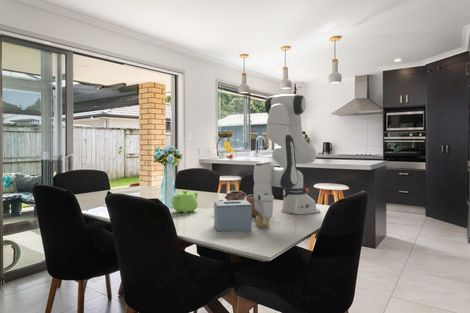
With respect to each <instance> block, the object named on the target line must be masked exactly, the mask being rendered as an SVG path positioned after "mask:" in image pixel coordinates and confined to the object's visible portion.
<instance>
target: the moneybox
mask: <svg viewBox="0 0 470 313" xmlns="http://www.w3.org/2000/svg"><path fill="white" fill-rule="evenodd" d="M213 209H214V210H213V212H214V213H213V215H214V218H213V219H214V224H213V225H214V227H215V229H216V232H217V233H220V232H221V233H222V232H224V233H225V232H239V231H241V232H242V231H252V223H253V222H252V220H253V219H252V218H253V217H252V204H250V203H249V202H248V201H247V200H246V199H244V200H231V201H226V200H224V201H219V200H214V202H213Z"/></svg>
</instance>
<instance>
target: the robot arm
mask: <svg viewBox="0 0 470 313" xmlns="http://www.w3.org/2000/svg"><path fill="white" fill-rule="evenodd" d="M306 104H307V102H306V99H305V97H304V96H303V94H297V93H296V94H289V93H288V94H287V93H285V94H278V95H271V96H270V95H269V96H267V98H266V99H265V100H264V111H265V112H266V114H267V115H268V116H267V120H266V132H265V133H266V136H267V138H268V139H269V141H271V142H272V143H274V144H276V145H278V146H275V147H274V148H273V150H272V153H271V155H272V156H271V157H272V159H273V161H274V162H275V163H276V164H277V165H278V166H279V167H277V166H274V165H272V164H271V161H268V160H261V161H257V162H255V164H254V167H253V182H254V185H253V195H254V198H255V202H254V208H255V210H256V211H257V212H259V215H262V224H266V219H267V218H269V219H270V218H272V216H273V214H274V213H273V210H274V200H275V197H274V195H273V188H272V187H276V188H277V187H278V188H283V190H282V191H283V192H282V194H283V201H282V202H283V203H282V206H281V209H280V210H281V212H283V213H287V214H288V213H289V214H295V215H307V214H317V213H321V209H319V208H318V207H317V204H316V200H314V199H313V198H312V197H311V196H309V195H308V193H309V192H310V189H309V188H307V187H306V188H305V187H304V174H303V173H302V172H301V171H300V170H298V169H297V165H308V164H312V163H313V164H314V162H315V160H316V158H317V151H316V149H315V148H314V147H313V146H312V145H310V144H309V143H308V142H307V140H306V139H305V137H304V135H303V128H302V127H303V126H302V116H301V114H303V113H304V112H305V111H306V106H307V105H306Z"/></svg>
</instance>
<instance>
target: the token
mask: <svg viewBox="0 0 470 313" xmlns="http://www.w3.org/2000/svg"><path fill="white" fill-rule="evenodd" d="M255 226H256V227H257V228H262V227H263V228H264V227H270V218H267V219H266V224H262V215H258V216H256V217H255Z"/></svg>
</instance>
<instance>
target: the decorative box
mask: <svg viewBox="0 0 470 313" xmlns="http://www.w3.org/2000/svg"><path fill="white" fill-rule="evenodd" d="M246 196H247V193H246V192H245V191H242V190H228V191H226V195H225V196H224V199H225V201H231V200H245V199H246Z"/></svg>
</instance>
